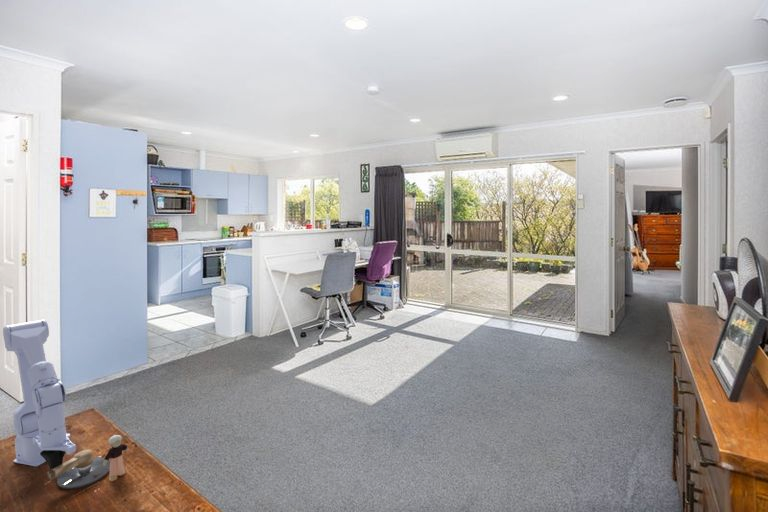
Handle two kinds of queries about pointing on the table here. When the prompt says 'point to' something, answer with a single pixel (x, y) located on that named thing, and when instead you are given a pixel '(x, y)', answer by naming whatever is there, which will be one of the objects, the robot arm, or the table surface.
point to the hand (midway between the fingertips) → (56, 471)
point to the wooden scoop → (72, 463)
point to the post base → (83, 475)
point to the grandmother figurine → (115, 457)
